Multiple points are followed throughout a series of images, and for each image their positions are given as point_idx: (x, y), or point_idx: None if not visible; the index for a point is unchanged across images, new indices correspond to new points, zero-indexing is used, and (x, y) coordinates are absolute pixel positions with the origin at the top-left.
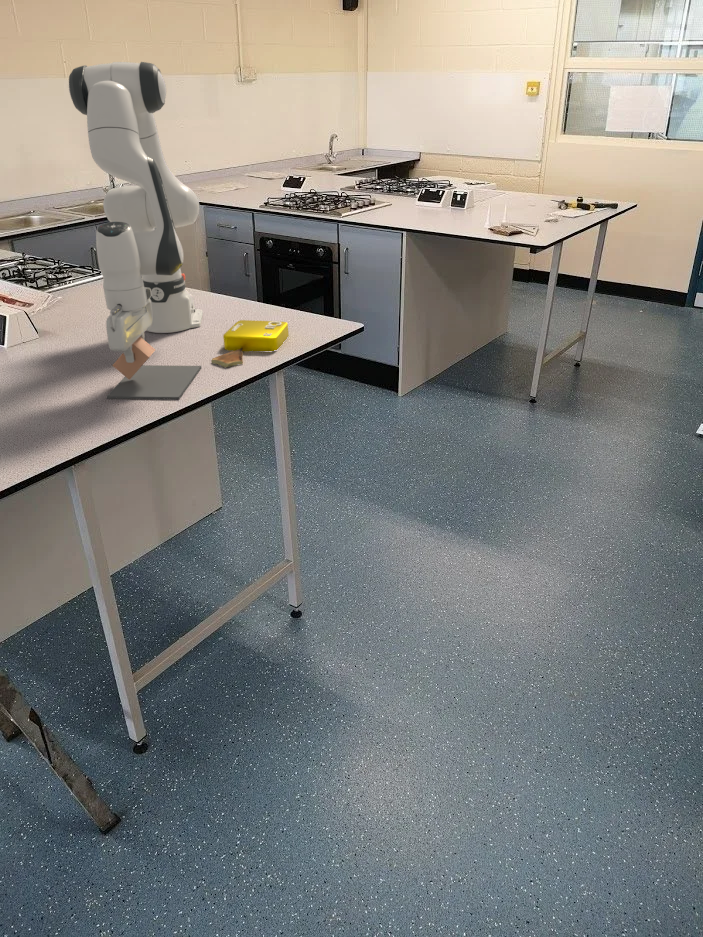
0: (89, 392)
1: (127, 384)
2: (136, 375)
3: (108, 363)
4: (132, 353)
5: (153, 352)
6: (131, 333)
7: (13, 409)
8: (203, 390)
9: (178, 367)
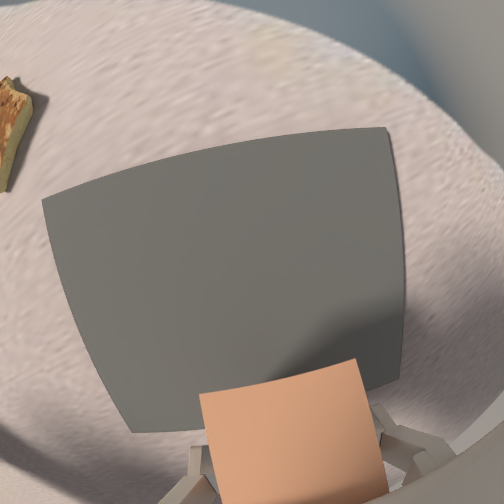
0: None
1: None
2: None
3: (144, 480)
4: (403, 431)
5: (253, 385)
6: (494, 501)
7: None
8: (275, 67)
9: (81, 286)
